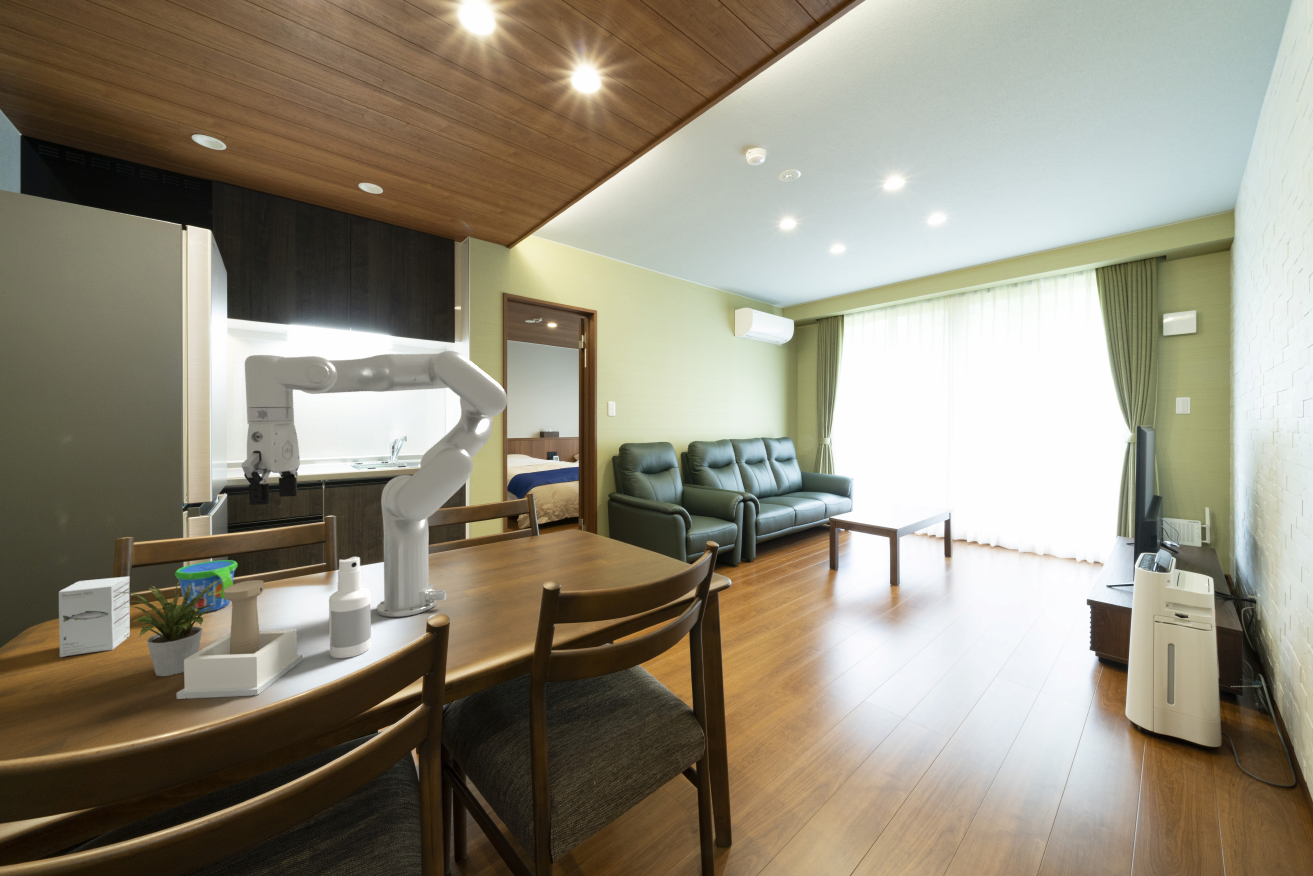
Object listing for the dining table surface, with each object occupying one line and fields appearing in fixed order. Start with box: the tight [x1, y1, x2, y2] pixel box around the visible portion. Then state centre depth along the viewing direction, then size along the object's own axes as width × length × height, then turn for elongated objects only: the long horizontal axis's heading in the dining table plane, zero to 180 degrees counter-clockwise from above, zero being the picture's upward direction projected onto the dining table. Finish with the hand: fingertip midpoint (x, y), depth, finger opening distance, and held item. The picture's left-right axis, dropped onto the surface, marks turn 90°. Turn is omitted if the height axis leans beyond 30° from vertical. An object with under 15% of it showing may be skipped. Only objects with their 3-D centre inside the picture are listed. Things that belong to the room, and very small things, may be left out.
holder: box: [176, 629, 304, 700], centre depth 85 cm, size 12×12×6 cm
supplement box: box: [58, 576, 131, 658], centre depth 96 cm, size 7×7×13 cm
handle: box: [224, 579, 265, 655], centre depth 85 cm, size 5×6×15 cm
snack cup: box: [174, 559, 238, 615], centre depth 115 cm, size 16×10×10 cm
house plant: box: [118, 576, 220, 677], centre depth 87 cm, size 14×14×16 cm
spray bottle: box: [328, 556, 372, 659], centre depth 95 cm, size 7×7×18 cm
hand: (274, 499), depth 101 cm, fingers open, 9 cm apart
